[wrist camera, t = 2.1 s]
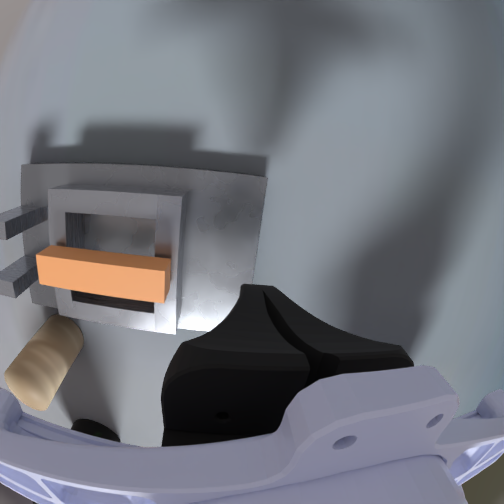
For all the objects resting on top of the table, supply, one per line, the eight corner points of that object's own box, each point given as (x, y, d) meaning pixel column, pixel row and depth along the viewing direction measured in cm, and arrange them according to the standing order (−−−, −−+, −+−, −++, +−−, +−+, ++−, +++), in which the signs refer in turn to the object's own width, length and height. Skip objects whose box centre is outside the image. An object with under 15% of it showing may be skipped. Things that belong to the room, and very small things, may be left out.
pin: (171, 258, 14) (164, 271, 12) (169, 288, 14) (164, 303, 13) (51, 244, 13) (35, 254, 11) (53, 272, 13) (39, 283, 12)
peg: (79, 318, 18) (38, 378, 12) (87, 355, 20) (55, 416, 13) (43, 310, 18) (-3, 362, 11) (52, 346, 19) (15, 401, 12)
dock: (265, 176, 17) (281, 184, 12) (243, 325, 20) (249, 374, 15) (29, 163, 14) (-18, 171, 10) (38, 297, 18) (4, 330, 13)
